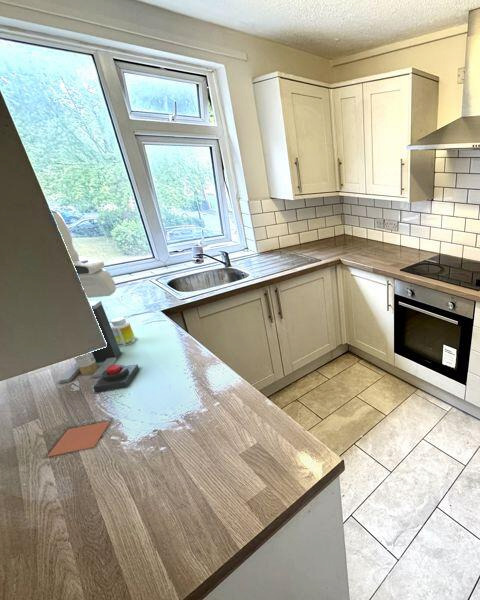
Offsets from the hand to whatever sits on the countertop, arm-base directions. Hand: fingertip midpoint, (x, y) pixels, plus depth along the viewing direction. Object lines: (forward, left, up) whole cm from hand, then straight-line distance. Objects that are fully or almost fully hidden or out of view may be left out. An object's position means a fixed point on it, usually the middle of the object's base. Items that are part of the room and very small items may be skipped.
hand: (79, 312), depth 95 cm
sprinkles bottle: (-7, +6, -24) cm, 25 cm away
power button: (+4, -3, -20) cm, 21 cm away
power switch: (+4, -3, -24) cm, 24 cm away
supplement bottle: (-3, +24, -24) cm, 34 cm away
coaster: (+5, -28, -24) cm, 37 cm away
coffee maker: (-7, +8, -23) cm, 26 cm away
